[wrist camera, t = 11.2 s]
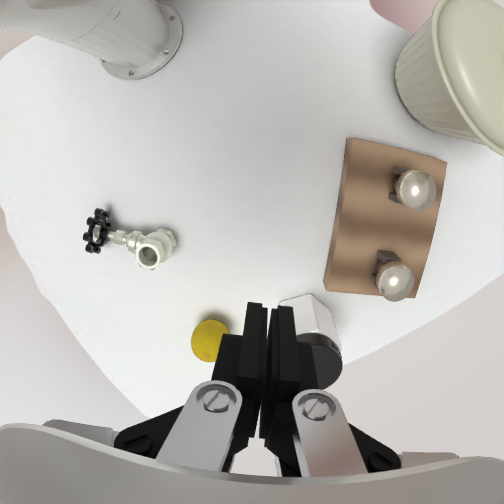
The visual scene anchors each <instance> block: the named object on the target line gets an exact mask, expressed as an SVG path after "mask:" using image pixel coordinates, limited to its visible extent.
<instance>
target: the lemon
mask: <svg viewBox="0 0 504 504" xmlns="http://www.w3.org/2000/svg"><path fill="white" fill-rule="evenodd" d="M223 333H225V334H229V331H228V329H227V328H226V326H225V325H224V324H223V323H221V322H219V321H217V320H205V321H203V322H201V323H200V324H199V325H198V326H197V327H196V328H195V330H194V332H193V334H192V338H191V346H192V351H193V353H194V354H195V356H196V357H197V358H199V359H200V360H202V361H205V362H215V361H216V358H217V354H218V350H219V346H220V342H221V338H222V334H223Z"/></svg>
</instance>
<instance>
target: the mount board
mask: <svg viewBox="0 0 504 504" xmlns="http://www.w3.org/2000/svg"><path fill="white" fill-rule="evenodd" d="M446 166H447V162H445V161H442V160H439V159H436V158H432V157H429V156H425V155H422V154H418V153H415V152H411V151H407V150H403V149H400V148H396V147H392V146H387V145H383V144H379V143H374V142H370V141H365V140H360V139H356V138H347V139H346V147H345V155H344V163H343V170H342V177H341V184H340V191H339V197H338V204H337V210H336V216H335V222H334V227H333V233H332V239H331V244H330V249H329V255H328V260H327V265H326V270H325V275H324V279H323V283H324V285H325V288H326V291H331V292H342V293H353V294H365V295H377V296H383V295H382V293H381V292H380V290H379V289H378V287H377V284H376V277H377V274H378V272H377V270H376V269H375V264H376V262H377V261H378V260H379V259H380V260H381V261H382V262H383V264H386V263H388V262H391V261H399V262H401V263H403V264H404V265H405V266H406V267H407V268H408V269H409V270H410V271H411V272H412V274H413V276H414V286H413V289H412V291H411V292H410V293H409V295H408V296H407V297H405V298H415V297H416V294H417V290H418V287H419V284H420V281H421V278H422V275H423V271H424V268H425V264H426V261H427V257H428V254H429V250H430V246H431V242H432V238H433V234H434V230H435V226H436V221H437V217H438V212H439V207H440V202H441V197H442V191H443V185H444V179H445V173H446ZM408 170H417V171H421V172H425V173H427V174H429V175H430V176H431V177H432V178H433V180H434V182H435V185H436V198H435V201H434V203H433V204H432V206H431V207H430V208H428V209H427V210H425V211H421V212H418V211H414V210H412V209H410V208H408V207H406V206H404V205H403V204H402V203H401V202H400V201H399V199H398V197H397V194H396V191H395V190H394V189H393V187H392V182H393V179H394V178H395V177H398V176H401V175H402V174H403V173H404V172H406V171H408Z"/></svg>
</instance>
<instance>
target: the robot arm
mask: <svg viewBox="0 0 504 504" xmlns="http://www.w3.org/2000/svg"><path fill="white" fill-rule="evenodd" d="M174 19H175V20H174ZM0 31H17V32H25V33H30V34H34V35H38V36H41V37H45V38H48V39H51V40H54V41H56V42H59V43H62V44H65V45H67V46H70V47H73V48H75V49H78V50H81V51H83V52H86V53H88V54H91V55H93V56H96V57H98V58H100V60H101V63H102V65H103V67H104V69H105V70H106V71H107V72H108V73H109V74H111V75H113V76H115V77H117V78H120V79H126V80H135V79H140V78H144V77H146V76H149V75H151V74H153V73H154V72H156V71H158V70H159V69H160V68H162V67H163V66H164V65H166V63H167V62H168V61H169V60H170V59H171V58H172V57H173V55H174V54H175V52H176V51H177V49H178V47H179V45H180V42H181V38H182V23H181V20H180V18H179V16H178V15H177V14H176V12H175V11H174V10H173V9H172V8H171V7H169V6H167V5H165V4H161V3H157V0H0ZM167 53H169V54H168V55H167ZM133 73H134V75H133ZM267 313H268V308H264V307H262V303H253V302H248V304H247V311H246V318H245V324H244V331H243V336H241V335H233V334H225V333H223V334H222V338H221V342H220V346H219V350H218V354H217V358H216V362H215V366H214V370H213V374H212V379H211V381H207V382H203V383H201V384H199V385H198V386H196V387H195V388H194V390H193V391H192V392H191V394H190V396H189V398H188V400H187V402H186V404H185V405H183V406H181V407H179V408H176V409H174V410H172V411H169V412H167V413H165V414H162V415H160V416H157V417H155V418H152V419H150V420H147V421H144V422H142V423H139V424H137V425H134V426H131V427H128V428H126V429H125V430H123V431H121V432H116V431H113V429H112V428H106V427H99V426H92V425H86V424H80V423H74V422H68V421H63V420H50V421H47V422H46V423H44V424H43V425H42V426H41V425H34V424H25V423H13V424H6V425H3V426H1V427H0V504H504V461H503V460H500V459H497V458H492V457H480V456H478V457H462V458H460V457H459V456H457V455H456V454H454V453H424V452H422V453H421V452H402V453H401V454H396V453H395V452H394V451H393V450H392V449H390V448H388V447H387V446H385V445H383V444H382V443H380V442H378V441H377V440H375V439H373V438H371V437H370V436H368V435H367V434H365V433H364V432H362V431H361V430H359V429H357V428H356V427H354V426H353V425H351V424H349V423H348V422H347V419H346V417H345V414H344V412H343V410H342V407H341V405H340V403H339V401H338V400H337V399H336V398H335V397H334V396H333V395H332V394H330V393H328V392H326V391H322V390H319V387H318V381H317V375H316V369H315V363H314V357H313V351H312V345H311V343H310V342H303V341H297V338H296V329H295V320H294V312H293V307H291V306H281V305H278V307H277V309H273V308H272V311H271V318H270V324H269V330H268V337H267ZM260 405H261V409H260ZM259 410H260V428H259V438H262V439H265V444H264V447H267V449H269V450H270V451H271V452H272V453H273V454H275V455H276V456H275V464H276V469H277V474H278V477H271V476H254V475H243V474H234V473H230V471H231V468H232V465H233V462H234V459H235V454H236V453H238V452H239V451H241V450H243V449H244V448H246V447H247V446H248V440H249V437H251V438H254V435H255V431H256V426H257V421H258V415H259Z"/></svg>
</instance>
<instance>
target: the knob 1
mask: <svg viewBox="0 0 504 504" xmlns="http://www.w3.org/2000/svg"><path fill="white" fill-rule="evenodd" d="M375 269H376V270H377V272H378V274H377V277H376V284H377V287H378V289H379V290H380V292H381V293H382V295H383V296H384V297H385V298H386V299H387V300H389V301H400V300H402V299H404V298H405V297H407V296H408V295H409V293H410V292H411V291H412V289H413V286H414V276H413V274H412V272H411V271H410V270H409V269H408V268H407V267H406V266H405V265H404V264H403V263H401V262H399V261H391V262H388V263H386V264H383V262H382V261H381V260H380V259H379V260H378V261H377V262H376V264H375Z"/></svg>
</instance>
